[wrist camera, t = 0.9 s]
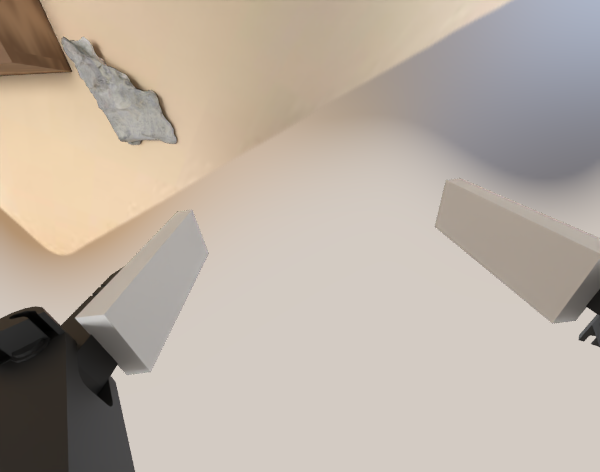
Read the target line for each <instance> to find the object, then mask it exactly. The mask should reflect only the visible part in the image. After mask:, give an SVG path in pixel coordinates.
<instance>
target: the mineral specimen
mask: <svg viewBox="0 0 600 472" xmlns="http://www.w3.org/2000/svg"><path fill="white" fill-rule="evenodd" d="M61 39H62V45H63V48H64V51H65V52H66V54H67V55H68V57H69V58H70V59H71V60H72V61H73V62H74V63H75V66H76V68H77V70H78V73H79V76H80V78H81V79H83V80H84V81H85V83H86V86H87V87H88V88H89V90H90V92H91V93H92V94H93V96H94V97H95V99H96V100H97V103H98V106H99V108H100V109H102V110H103V112H104V113H105V115H106V116H107V118H108V120H109V122H110V123H111V125H112V127H113V129H114V131H115V132H116V134H117V136H118V138H119V139H120V141H122V142H128V143H129V144H131V145H139V144H140V143H141V140H160V141H163V142H165V143H169V144H176V142H177V140H176V137H175V135H174V129H173V128H172V126H171V124H170V123H169V122H168V121H167V120H166V118H165V117H164V115H163V114H162V111H161V108H160V105H159V100H158V98H157V96H156V93H155V92H153V91H152V90H148V91H141V90H139V89H137V88H136V87H134V86H133V84H132V83H131V81H130V79H129V78H128V77H127V75H126V74H124V73H122V72H120V71H118V70H116V69H114V68H112V67H109V66H107V65H106V63H105V62H104V60H103V59H102V58H100V57H98V56H97V55H96V53H95V51H94V49H93V46H92V45H91V43H90V42H89V41H88V40H87V39H86V38H84V37H82V38H81V39H80V40H79V41H74V40H68V39H67V38H65V37H63V38H61Z"/></svg>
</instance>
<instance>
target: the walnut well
mask: <svg viewBox="0 0 600 472" xmlns="http://www.w3.org/2000/svg"><path fill="white" fill-rule="evenodd" d="M58 72H72V70H71V68H70V66H69V64H68V62H67V60H66V57H65V55H64V53H63V51H62V49H61V47H60V44H59V42H58V40H57V38H56V36H55V34H54V31H53V29H52V27H51V25H50V23H49V21H48V18H47V16H46V14H45V12H44V10H43V8H42V5H41V3H40V1H39V0H0V76H5V75H23V74H41V73H58Z"/></svg>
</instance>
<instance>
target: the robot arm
mask: <svg viewBox="0 0 600 472" xmlns="http://www.w3.org/2000/svg"><path fill="white" fill-rule="evenodd" d="M435 227H436V228H437V229H438V230H439V231H441V232H442V233H443V234H444V235H445V236H447V237H448V238H449V239H450V240H451V241H453V242H454V243H455V244H456V245H458V246H459V247H460V248H461V249H463V250H464V251H465V252H466V253H467V254H469V255H470V256H471V257H472V258H473V259H475V260H476V261H477V262H478V263H479V264H481V265H482V266H483V267H484V268H486V269H487V270H488V271H489V272H490V273H492V274H493V275H494V276H495V277H496V278H498V279H499V280H500V281H501V282H503V283H504V284H505V285H506V286H508V287H509V288H510V289H511V290H512V291H514V292H515V293H516V294H517V295H519V296H520V297H521V298H522V299H523V300H524V301H526V302H527V303H528V304H529V305H531V306H532V307H533V308H534V309H536V310H537V311H538V312H539V313H540V314H541V315H543V316H544V317H545V318H546V319H548V320H549V321H550V322H551V323H560V322H568V321H576V320H577V318H578V317H579V316H580V314H581V313H582V312H583V311H584V310H585V308H586V307H588V308H589V309H591V310H592V311H594V312H595V313H597V315H596V316H595V318H594V319H593V320H592V321H591V322H590V323H589V325H588V326H587V327H586V328H585V329H584V330H583V331H582V333H581V334H580V335H579V340H581V341H585V339H587V337H588V336H590V335H592V336H596V339H595V340H594V341H593V342H592V343H591V344H593V345H596V346H599V347H600V238H598V237H596V236H594V235H591V234H589V233H587V232H584V231H582V230H580V229H578V228H575V227H573V226H571V225H568V224H566V223H564V222H561V221H559V220H557V219H554V218H552V217H549V216H547V215H545V214H543V213H540V212H538V211H536V210H533V209H531V208H529V207H526V206H524V205H521V204H519V203H517V202H514V201H512V200H510V199H508V198H505V197H503V196H500V195H498V194H496V193H494V192H491V191H489V190H487V189H484V188H482V187H480V186H477V185H475V184H473V183H470V182H468V181H466V180H463V179H461V178H459V179H451V180H446V182H445V186H444V190H443V194H442V198H441V203H440V207H439V211H438V216H437V220H436V223H435ZM208 254H209V253H208V250H207V248H206V245H205V242H204V240H203V237H202V234H201V232H200V229H199V226H198V224H197V221H196V218H195V216H194V213H193V210H186V211H177V212H176V213H175V214H174V215H173V217H172V218H171V219H170V220H169V221H168V222H167V223H166V224H165V225H164V226H163V227H162V228H161V229H160V230H159V231H158V232H157V233H156V234H155V235H154V236H153V237H152V238H151V239H150V240H149V241H148V242H147V244H146V245H145V246H144V247H143V248H142V249H141V250H140V251H139V252H138V253H137V254H136V255H135V256H134V257H133V258H132V259H131V260H130V261H129V262H128V263H127V264H126V265H125V266H124V267H123V268H121V269H120V270H118V271H117V272H115V273H114V274H112V275H111V276H110V277H109V278H108V279H107V280H106V281H105V282H104V283H103V284H102V285H101V287H99V288H98V289H97V290H96V291H95V292H94V293H93V296H90V297H89V298H88V299H87V300H86V301H85V302H84V303H83V304H82V305H81V306H80V307H79V308H78V309H77V310H76V311H75V312H74V313H73V314H72V315H71V316H70V317H69V318H68V319H67V320H66V321H65V322H64V323H63V324H62V325H61V326H60V325H59V324H58V323H57V322H56V321H55V320H54V319H53V318H52V317H51V316H50V315H49V314H48V313H47V312H46V311H45V310H44V309H43V308H42V307H30V308H25V309H22V310H19V311H16V312H14V313H11V314H9V315H7V316H5V317H3V318H1V319H0V472H135V470H134V466H133V461H132V456H131V451H130V447H129V442H128V437H127V433H126V428H125V424H124V419H123V414H122V410H121V405H120V400H119V396H118V391H117V387H116V383H115V381H114V380H113V378H112V377H111V374H112V372H113V371H114V369H115V368H116V366H117V365H118V366H119V367H120V368H121V369H122V370H123V371H124V372H125V373H126V374H127V375H130V374H139V373H146V372H151V370H152V368H153V366H154V364H155V362H156V360H157V358H158V356H159V354H160V352H161V350H162V347H163V346H164V344H165V342H166V340H167V338H168V335H169V333H170V331H171V329H172V327H173V325H174V323H175V321H176V319H177V317H178V315H179V313H180V311H181V309H182V307H183V305H184V303H185V301H186V299H187V297H188V295H189V293H190V290H191V288H192V287H193V284H194V282H195V280H196V278H197V276H198V274H199V272H200V270H201V268H202V266H203V264H204V262H205V260H206V258H207V256H208Z"/></svg>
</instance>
